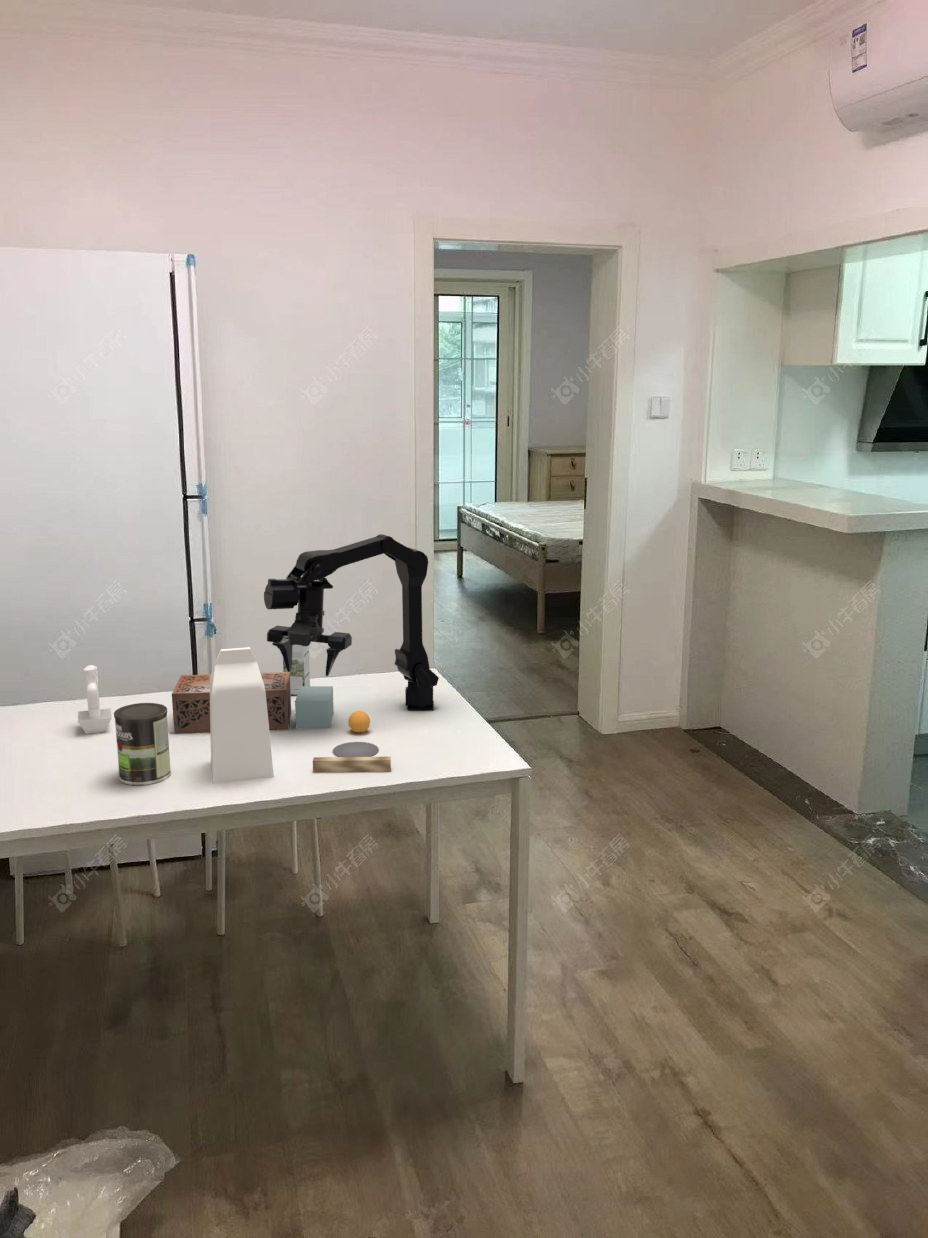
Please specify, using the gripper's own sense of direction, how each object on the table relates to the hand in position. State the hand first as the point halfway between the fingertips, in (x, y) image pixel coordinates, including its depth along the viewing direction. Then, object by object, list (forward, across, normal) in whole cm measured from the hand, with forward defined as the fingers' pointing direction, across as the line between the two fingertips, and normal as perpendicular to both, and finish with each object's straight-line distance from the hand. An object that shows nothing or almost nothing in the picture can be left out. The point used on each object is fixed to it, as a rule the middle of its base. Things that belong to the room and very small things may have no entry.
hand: (308, 673), depth 231 cm
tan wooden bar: (+13, +18, -23) cm, 32 cm away
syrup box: (+12, -11, +24) cm, 29 cm away
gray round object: (+12, +16, -13) cm, 24 cm away
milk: (+14, -4, -28) cm, 31 cm away
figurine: (+16, -47, -12) cm, 51 cm away
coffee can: (+16, -22, -35) cm, 44 cm away
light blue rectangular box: (+13, +1, +4) cm, 13 cm away
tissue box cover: (+14, -18, 0) cm, 23 cm away
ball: (+10, +13, -1) cm, 16 cm away
